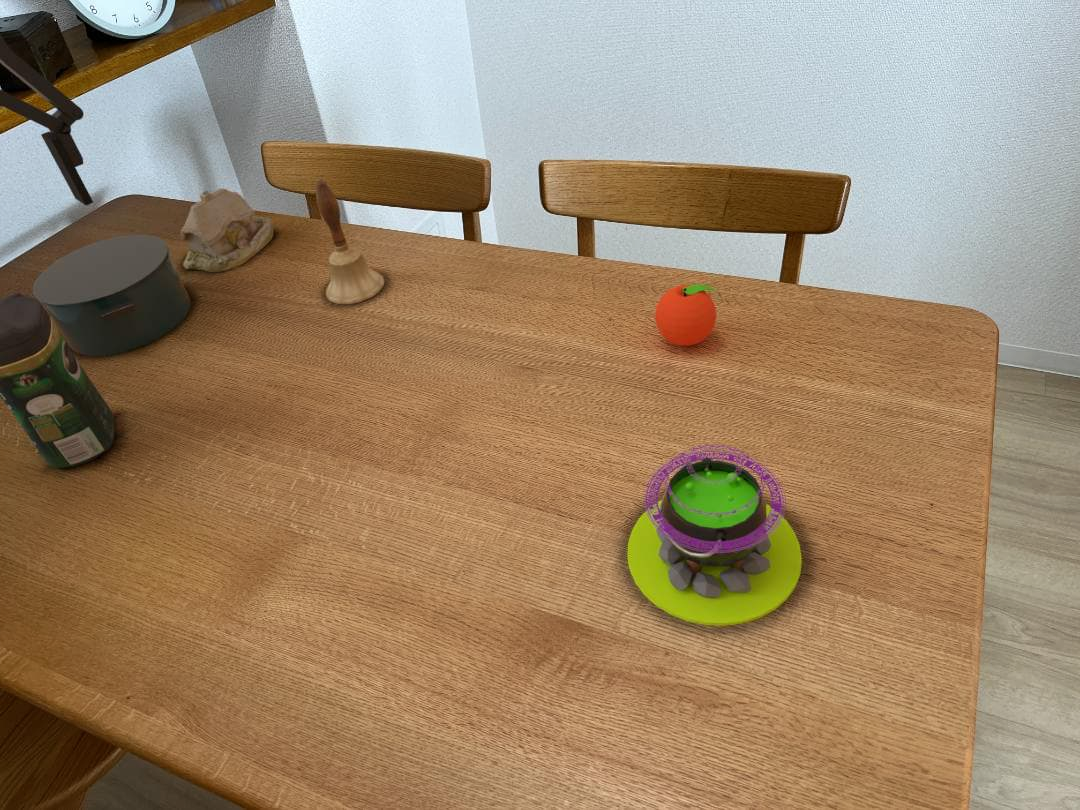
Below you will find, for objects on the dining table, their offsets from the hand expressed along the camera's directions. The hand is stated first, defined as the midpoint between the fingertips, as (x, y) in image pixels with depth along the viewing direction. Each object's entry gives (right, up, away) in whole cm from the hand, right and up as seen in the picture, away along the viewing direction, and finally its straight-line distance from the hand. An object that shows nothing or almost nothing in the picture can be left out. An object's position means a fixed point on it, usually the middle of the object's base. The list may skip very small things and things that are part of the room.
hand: (13, 230), depth 75 cm
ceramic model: (0, +8, +52) cm, 53 cm away
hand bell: (+23, 0, +38) cm, 45 cm away
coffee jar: (-4, -21, +19) cm, 29 cm away
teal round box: (-9, -4, +40) cm, 41 cm away
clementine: (+67, -9, +20) cm, 70 cm away
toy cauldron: (+64, -29, -4) cm, 71 cm away
